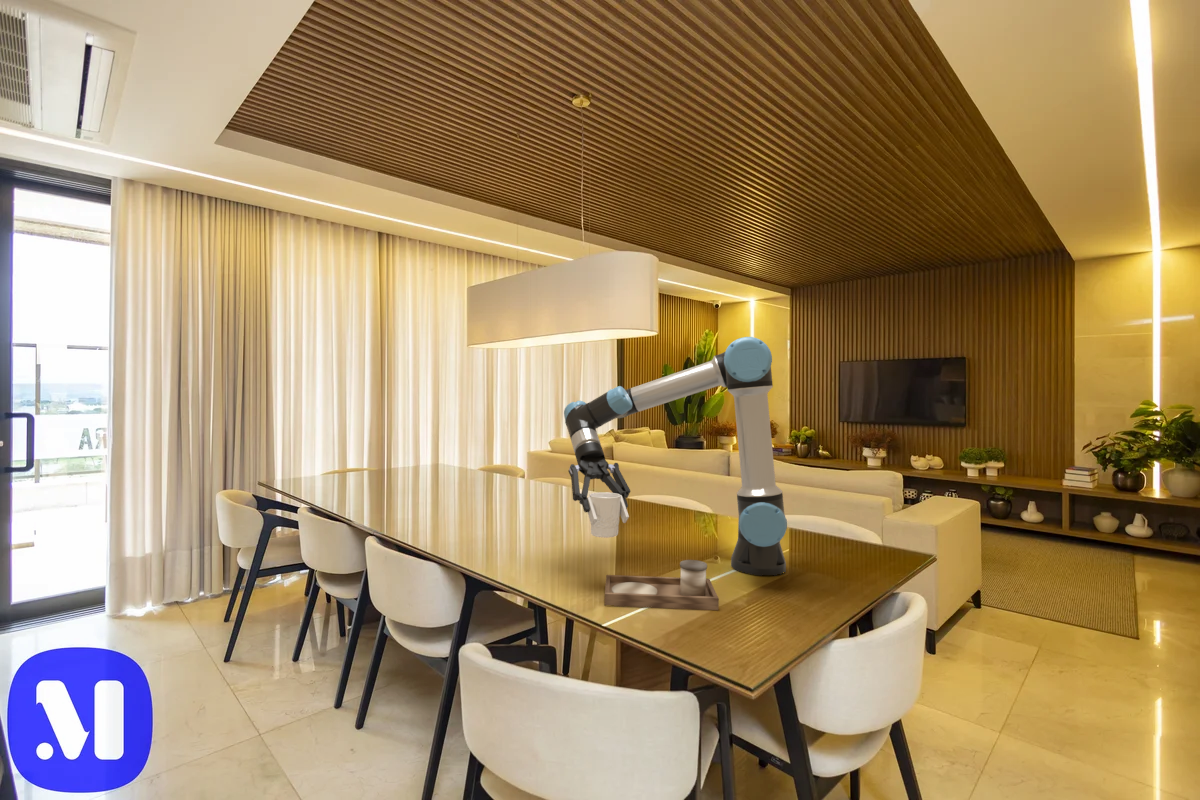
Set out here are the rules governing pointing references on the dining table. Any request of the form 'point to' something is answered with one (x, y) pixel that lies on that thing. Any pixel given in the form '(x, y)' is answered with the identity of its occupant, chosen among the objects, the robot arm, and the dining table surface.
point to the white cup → (606, 514)
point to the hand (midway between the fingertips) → (610, 520)
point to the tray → (664, 589)
